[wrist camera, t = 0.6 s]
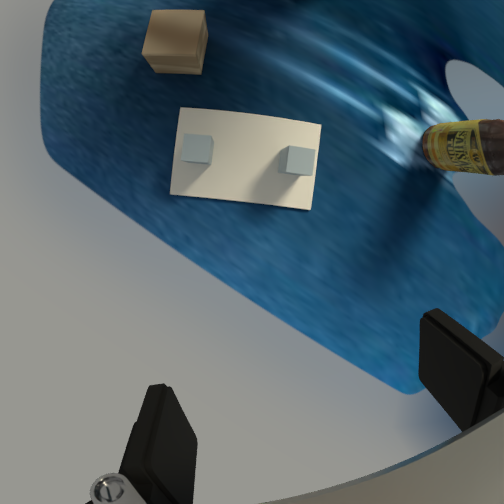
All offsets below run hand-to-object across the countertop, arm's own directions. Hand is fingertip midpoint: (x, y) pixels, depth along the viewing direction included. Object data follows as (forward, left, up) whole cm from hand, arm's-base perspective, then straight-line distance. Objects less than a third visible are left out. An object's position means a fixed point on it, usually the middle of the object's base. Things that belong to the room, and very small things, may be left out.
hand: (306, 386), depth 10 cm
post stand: (-9, -2, -27) cm, 29 cm away
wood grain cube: (-21, -11, -27) cm, 36 cm away
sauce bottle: (-15, +23, -28) cm, 39 cm away
